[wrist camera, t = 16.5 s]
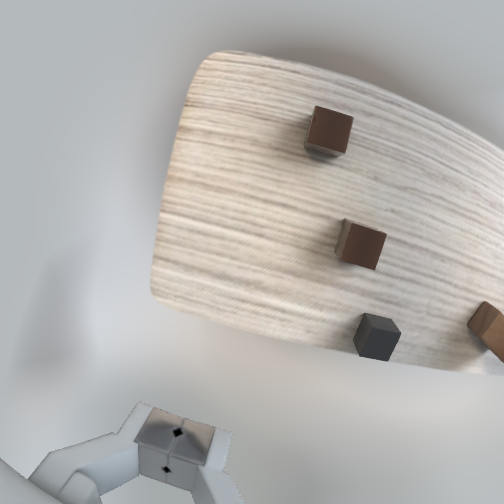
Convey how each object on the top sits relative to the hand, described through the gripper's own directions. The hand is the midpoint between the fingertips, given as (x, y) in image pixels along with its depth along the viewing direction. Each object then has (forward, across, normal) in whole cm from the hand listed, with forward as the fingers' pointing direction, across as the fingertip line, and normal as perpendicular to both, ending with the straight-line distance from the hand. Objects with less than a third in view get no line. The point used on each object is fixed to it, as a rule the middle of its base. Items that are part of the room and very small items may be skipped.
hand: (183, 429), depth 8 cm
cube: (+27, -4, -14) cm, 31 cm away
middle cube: (+27, -10, -4) cm, 29 cm away
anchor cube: (+27, -17, +6) cm, 32 cm away
